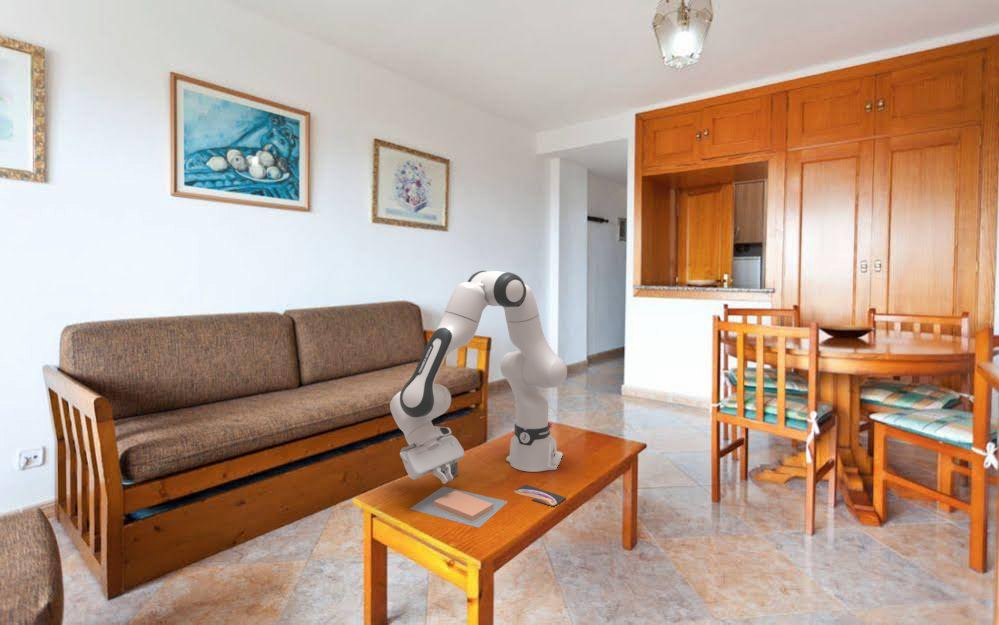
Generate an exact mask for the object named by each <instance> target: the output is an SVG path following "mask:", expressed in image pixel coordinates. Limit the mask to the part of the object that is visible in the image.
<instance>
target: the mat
mask: <svg viewBox="0 0 999 625" xmlns="http://www.w3.org/2000/svg"><path fill="white" fill-rule="evenodd" d="M455 490H456V491H459V492H461V493H464V494H467V495H470V496H473V497H475V498H478V499H481V500H484V501H487V502H490V503H492V504H493V511H491V512H490V513H488V514H486V515H484V516H483V517H481V518H479V519H478V520H476V521H474V522H473V523H472V522H469V521H467V520H464V519H462V518H459V517H457V516H454V515H452V514H449V513H447V512H444V511H442V510H439V509H437V508H434V501H435V500H437V499H439V498H441V497H443V496H445V495H447V494H449V493H451V492H453V491H455ZM507 503H508V501H507V500H503V499H498V498H494V497H490V496H486V495H482V494H477V493H473V492H468V491H465V490H460V489H456V488H454V487H453V488H452V487H448V486H444V485H443V486H442V487H441V488H439V489H437V490H436V491H435V492H432V494H429V495H428V496H427V497H425V498H424V499H422V500H421V501H419V502H417V503H416V504H415V505H412V507H410V508H409V510H412V511H415V512H416V511H417V512H419V513H424V514H427V515H431V516H433V517H438V518H442V519H446V520H447V521H452V522H456V523H460V524H463V525H467V526H470V527H475V528H481V527H482V526H483V525H484V524H485V523H486V522H487V521H488V520H489V519H491V518H492V517H493V516H494V515H495V514H496V513H498V511H500V510H501V509H502V508H503V507H504V506H505V505H506V504H507Z"/></svg>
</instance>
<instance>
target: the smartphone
mask: <svg viewBox="0 0 999 625" xmlns="http://www.w3.org/2000/svg"><path fill="white" fill-rule="evenodd" d="M513 493H514V494H517V495H520V496H522V497H526V498H530V499H531V501H532V502H535V503H538V504H540V505H543V504H544V506H546V505H547V506H546V507H549V506H551V507H550V508H556V507H558V506H559V505H560V504H562V503H564V502H565V501H566V500H567V498H566V497H565V496H562V495H561V494H556V493H554V492H550V491H547V490H544V489H542V488H537V487H534V486H532V485H528V484H523V485H522V486H520V487H518V488H517V489H515V490H514V491H513ZM565 499H566V500H565ZM564 500H565V501H564ZM563 501H564V502H563ZM561 502H562V503H561ZM558 504H559V505H558ZM557 505H558V506H557ZM555 506H556V507H555Z"/></svg>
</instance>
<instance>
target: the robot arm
mask: <svg viewBox="0 0 999 625" xmlns="http://www.w3.org/2000/svg"><path fill="white" fill-rule="evenodd" d="M488 306H491V307H503V310H504V317H505V322H506V325H507V330H508V335H509V339H510V341H511V343H512V344H513V346H514V347H516V348H517V349H518V350H516V351H509V352H506V353H505V354H504V355H503V357H502V358H501V361H500V372H501V374H502V376H503V377H504V378H505V379H506V381H507V382H508V384H509V386H510V388H511V390H512V393H513V397H514V402H515V423H514V428H513V430H514V432H513V433H514V436H512V437H511V439H510V447H509V448H510V449H509V455H508V456H506V459H505V460H506V462H508V463H509V465H510V466H511V467H512V468H514V469H516V470H519V471H523V472H530V473H533V472H534V473H536V472H537V473H539V472H545V471H556V470H557V469H558V468H559V466H558V465H560V463H561V461H562V459H563V457H562V456H563V455H564V454H563V452H561V451H558V450H557V448H558V447H557V446H558V445H557V440H556V439H555V438H554V437H553V436H552V435H551V430H550V429H551V428H552V426H553V424H552V422H551V421H549V404H548V403H549V402H548V400H547V399H546V398H545V397H544V396H543V394H541V392H540V390H539V388H538V387H540V388H545V389H548V388H549V389H551V388H559V387H562V385H563V384H564V383H565V381H566V379H567V376H568V367H567V364H566V363H565V361H564V360H563V359H562V358H561V357H559V356H558V355H557V354H556V353H555V352H554V350H553V349H552V347H551V346H550V345H549V343H548V341H547V339H546V337H545V335H544V332H543V327H542V323H541V318H540V313H539V308H538V303H537V301H536V298H535V295H534V293H533V290H532V288H531V287H530V286H529V285H527V284H525V282H524V281H523V279H522V278H521V277H520V276H519V275H517V274H515V273H513V272H505V271H502V270H480V271H477V272H475V273H473V274H472V275H471V276H470V277H469V279H468V280H467V281H463V282H460V283H459V284H457V285H456V287H455V289H454V290H453V292H452V293H451V296H450V298H449V300H448V301H447V304H446V307H445V308H444V312H443V314H442V317H441V319H440V322H439V324H438V326H437V328H436V330H435V331H434V332H433V334H432V335H431V336H430V338H429V340H428V342H427V345H426V346H425V348H424V350H423V353H422V355H421V357H420V359H419V361H418V363H417V366H416V367H415V370H414V372H413V374H412V376H411V378H409V380H408V381H406V383H405V384H404V386H403V387H402V389H401V390H400V391H398V392H396V394H394V395H393V397H392V398H391V400H390V402H389V409H390V412H391V413H390V414H391V415H392V417H393V419H394V422H395V424H396V425H397V427H398V428H399V430H401V432H402V433H403V435H404V437H405V440H406V442H407V445H408V446H405V447H402V448H401V450H400V452H399V456H400V458H401V460H402V463H403V466H404V469H405V471H406V472H407V475H408V477H409V478H410V479H411V480H414V481H415V480H417V479H419V478H422V477H425V476H426V475H429V474H431V473H432V474H433V476H435V478H438V479H439V480H440V481H441V483H442V484H443V485H444V484H447V483H449V482H451V481H453V479H454V477H453V476H452V474H451V468H450V464H453V463H455V462H457V461H458V462H459V461H460V460H462V459H463V458H464V457H465V450H464V447H463V446H462V445H461V443H460V442H459V440H458V439H457V438H456V437H455V436H454V435H453V434H452V433H453V432H452V430H451V428H450V427H444V426H437V425H435V426H434V425H433V423H432V422H433V420H434V419H437V418H439V417H440V416H441V415H444V414H445V413H446V412H448V410H449V409H450V407H451V405H452V395H451V391H450V389H448V388H447V387H446V386H444V385H442V384H438V383H435V382H436V379H437V377H438V375H439V372H440V370H441V368H442V367H443V366H442V365H443V364H444V361H445V359H446V358H447V356H449V354H450V353H452V352H453V351H455V350H457V349H459V348H463V347H464V346H467V345H468V344H469V343H470V342H472V340H473V338H474V337H475V334H476V332H477V330H478V327H479V325H480V324H479V323H480V321H481V318H482V315H483V312H484V310H485V309H486V307H488ZM561 458H562V459H561ZM557 467H558V468H557ZM441 468H442V470H443V471H445V474H443V473H442V472H441Z"/></svg>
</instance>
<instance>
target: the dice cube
mask: <svg viewBox="0 0 999 625" xmlns="http://www.w3.org/2000/svg"><path fill="white" fill-rule="evenodd" d="M458 462H459V461H457V462H455V463H453V464H450V468H451V474H452V476H453V478H455V477H457V476H458V475H459V474H458V473H459V472H458V470H459V468H458V467H459V465H458V464H459V463H458ZM441 472H442V473H443V474H445V471H443V470H442V468H441Z"/></svg>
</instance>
